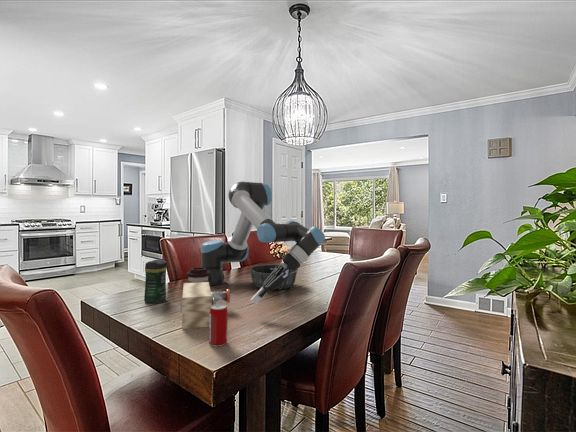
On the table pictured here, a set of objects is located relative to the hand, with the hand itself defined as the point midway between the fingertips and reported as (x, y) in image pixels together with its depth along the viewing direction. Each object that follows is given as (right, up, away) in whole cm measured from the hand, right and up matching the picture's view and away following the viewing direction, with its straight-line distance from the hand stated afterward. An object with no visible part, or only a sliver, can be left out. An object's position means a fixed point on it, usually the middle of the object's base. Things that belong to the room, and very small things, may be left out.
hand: (253, 302), depth 123 cm
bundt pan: (+6, -5, +50) cm, 51 cm away
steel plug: (-20, -3, -6) cm, 21 cm away
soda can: (-8, -7, -24) cm, 26 cm away
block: (-22, -6, -1) cm, 23 cm away
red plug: (-17, -2, +6) cm, 18 cm away
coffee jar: (-46, -5, +19) cm, 50 cm away
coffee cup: (-27, -5, +19) cm, 34 cm away
